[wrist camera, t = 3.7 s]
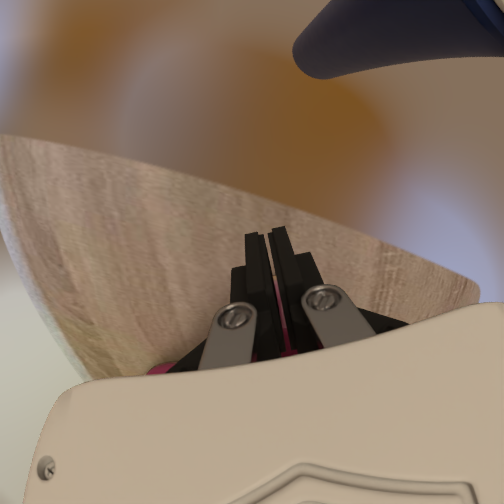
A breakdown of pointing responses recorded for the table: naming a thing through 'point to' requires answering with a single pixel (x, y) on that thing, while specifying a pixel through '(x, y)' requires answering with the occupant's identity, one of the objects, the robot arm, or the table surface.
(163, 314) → the table surface
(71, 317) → the table surface
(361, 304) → the table surface
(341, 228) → the table surface
